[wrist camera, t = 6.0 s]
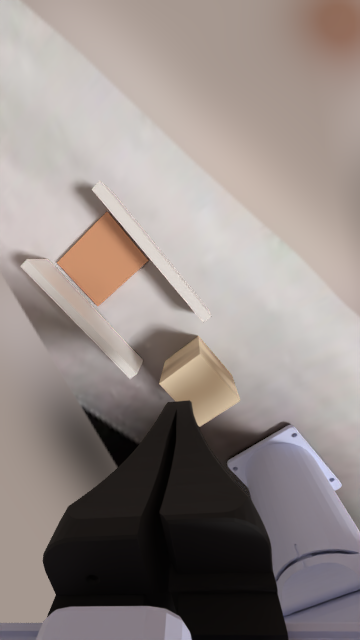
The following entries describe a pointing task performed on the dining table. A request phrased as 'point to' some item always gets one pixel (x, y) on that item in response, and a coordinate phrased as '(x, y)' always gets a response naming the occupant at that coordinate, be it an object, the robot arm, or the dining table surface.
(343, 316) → the dining table surface
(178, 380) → the block
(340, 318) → the dining table surface
